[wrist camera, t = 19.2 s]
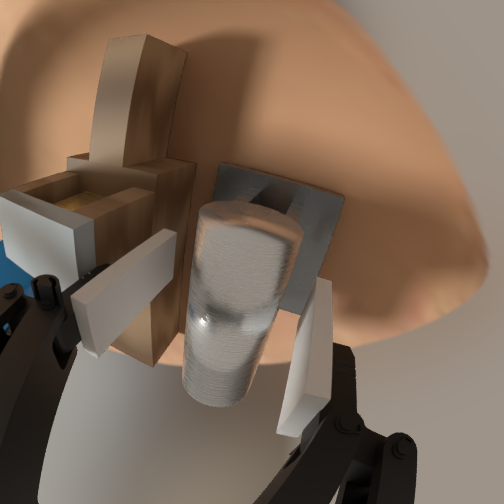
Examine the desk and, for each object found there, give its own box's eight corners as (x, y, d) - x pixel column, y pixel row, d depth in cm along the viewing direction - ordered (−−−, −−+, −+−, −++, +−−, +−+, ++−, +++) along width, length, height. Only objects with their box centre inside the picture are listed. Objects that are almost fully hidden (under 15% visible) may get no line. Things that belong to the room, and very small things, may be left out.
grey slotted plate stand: (204, 276, 21) (169, 320, 16) (224, 162, 17) (181, 175, 12) (302, 307, 20) (292, 364, 15) (343, 195, 16) (353, 224, 11)
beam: (177, 332, 25) (117, 418, 15) (113, 303, 26) (46, 367, 16) (219, 54, 14) (108, -9, 4) (128, 55, 15) (12, 38, 5)
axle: (253, 363, 16) (243, 414, 13) (193, 346, 17) (172, 394, 13) (302, 216, 12) (305, 255, 8) (215, 194, 12) (182, 224, 8)
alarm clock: (53, 212, 23) (-55, 271, 10) (84, 252, 24) (-25, 330, 11) (37, 274, 29) (-36, 329, 16) (61, 307, 30) (-9, 370, 17)
